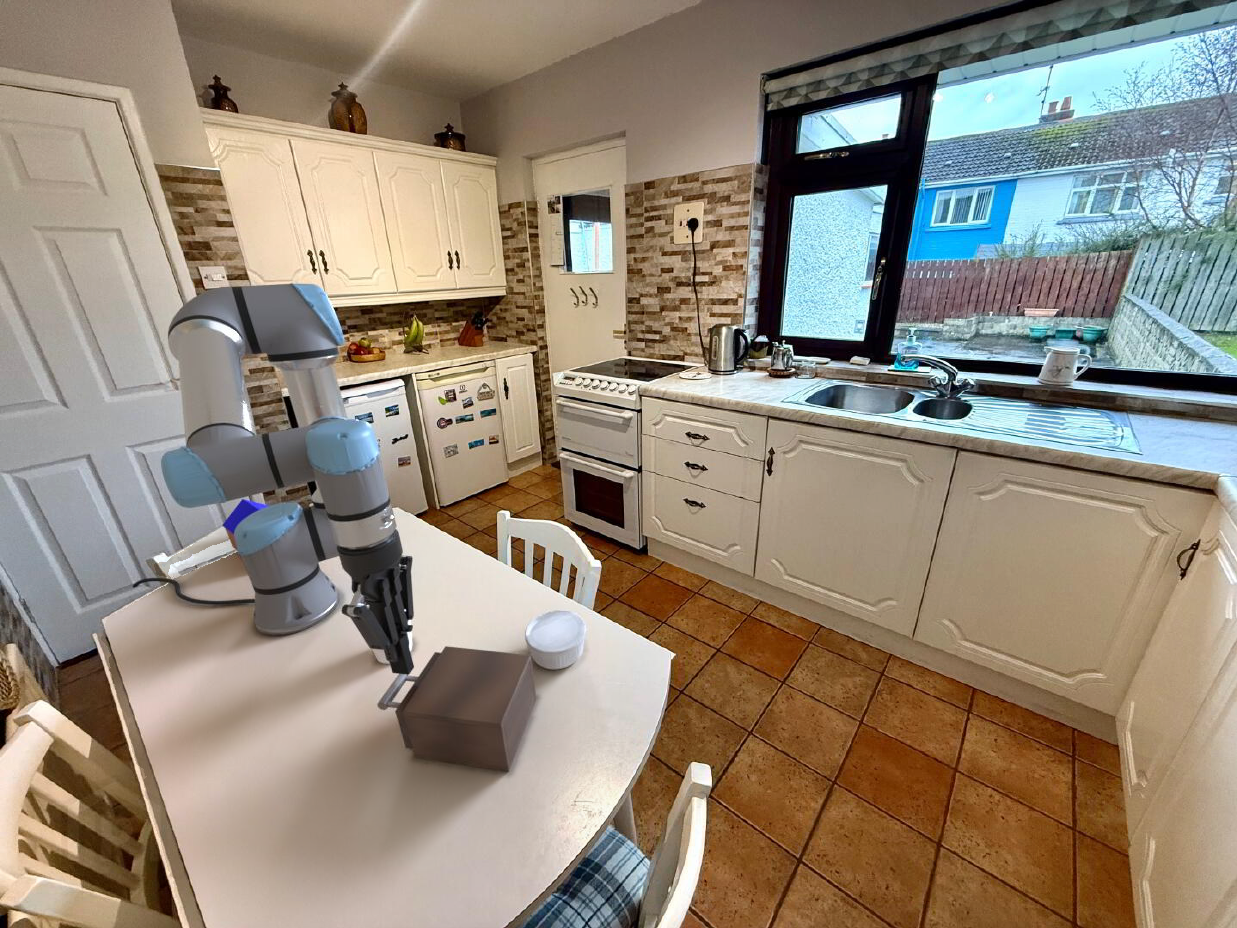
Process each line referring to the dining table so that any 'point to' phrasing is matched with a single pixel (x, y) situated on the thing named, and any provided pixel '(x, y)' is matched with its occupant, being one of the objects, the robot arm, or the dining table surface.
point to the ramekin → (556, 638)
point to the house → (240, 517)
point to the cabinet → (472, 708)
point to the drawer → (395, 688)
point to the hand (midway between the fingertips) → (403, 669)
